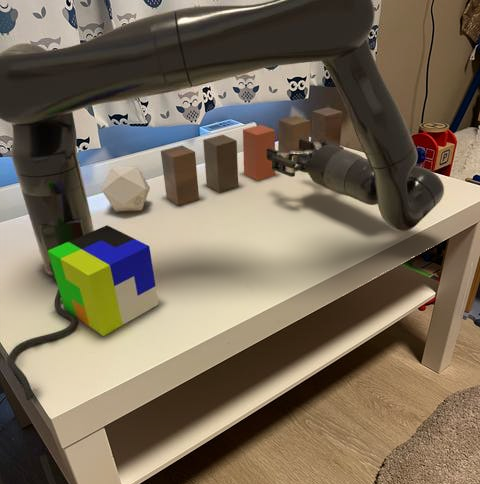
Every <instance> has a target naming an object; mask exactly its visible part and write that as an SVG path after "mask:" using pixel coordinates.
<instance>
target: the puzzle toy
mask: <svg viewBox="0 0 480 484" xmlns="http://www.w3.org/2000/svg"><path fill="white" fill-rule="evenodd" d="M48 254H49V258H50V261H51V264H52V268H53V271H54V275H55V278H56V280H55V281H56V285H57V289H58V288H59V292H60V295H61V299H60V300H61V302H62V306H63V308H64V309H63V310H64V311H66V312H68V313H70V314H72V315H73V316H75V317H76V319H77V320H79V321H81V322H82V323H84V324H85V325H86V326H88V327H89V328H91V329H92V330H94V331H95V332H97V333H98V334H99V335H101V336H102V337H105V336H107V335H108V334H110V333H112V332H113V331H115V330H117V329H118V328H121V327H123V326H124V325H126V324H127V323H129V322H131V321H132V320H134V319H136V318H138V317H140V316H141V315H143V314H145V313H147V312H148V311H150V310H152V309H153V308H155V307H157V306H159V298H158V293H157V286H156V279H155V274H154V268H153V267H154V265H153V261H152V254H151V248H150V245H149V244H147V243H145V242H142V241H140V240H138V239H136V238H134V237H132V236H130V235H128V234H126V233H124V232H122V231H120V230H118V229H116V228H114V227H111V226H109V225H108V224H106V225H104V226H102V227H99V228H97V229H94V231H92V232H90V233H88V234H85V235H83V236H81V237H78V238H76V239H74V240H71V241H69V242H67V243H64V244H62V245H60V246H58V247H55V248H53V249H51V250H48ZM55 278H54V279H55Z"/></svg>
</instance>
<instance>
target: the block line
mask: <svg viewBox="0 0 480 484" xmlns="http://www.w3.org/2000/svg"><path fill="white" fill-rule="evenodd" d="M343 115H344V114H343V111H341V110H337V109H335V108H332V107H324V108H320V109H316V110H312V111H311V120H310V119H306V118H303V117H301V116H298V115H293V116H292V115H291V116H289V117H284V118H282V119H278V127H277V128H278V131H277V132H278V133H277V134H278V137H277V139H278V140H277V142H278V143H277V151H279V152H281V153H290V151H302V150H300V149H299V140H300V139H305V140H308V141H311V142H319V143H320V144H321V143H322V141H329V142H331V143H333V144H336V145H338V146H341V137H342V126H343ZM202 141H203V154H204V155H203V156H204V167H205V182H206V187H208V188H209V189H211V190H213V191H216V192H217V193H219V194H220V193H223V192H227V191H230V190H233V189H236V188H239V168H238V165H239V164H238V163H239V162H238V141H237V140H236V139H234V138H232V137H230V136H227V135H225V134H220V135H217V136H213V137H209V138H205V139H203V140H202ZM302 152H304V151H302ZM160 156H161V157H160V158H161V164H162V172H163V180H164V181H163V182H164V188H165V195H166V199H167V200H169V201H170V202H172V203H174V204H175V205H177V206H178V207H179V206H183V205H185V204H189V203H192V202H195V201H198V200H200V196H199V195H200V193H199V182H198V181H199V180H198V169H197V158H196V151H195V150H193V149H191V148H189V147H186V146H185V145H178V146H175V147H169V148H166V149H163V150H160ZM283 158H284V159H287V160H288V158H287V157H283ZM293 162H295V164H297V156H293Z"/></svg>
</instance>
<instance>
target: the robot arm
mask: <svg viewBox="0 0 480 484" xmlns="http://www.w3.org/2000/svg"><path fill="white" fill-rule="evenodd" d="M374 22H375V5H374V3H373V0H269V1H265V2H261V3H256V4H247V5H245V4H244V5H202V6H201V5H200V6H191V7H185V8H184V7H182V8H178V9H174V10H170V11H165V12H162V13H157V14H153V15H150V16H146V17H143V18H139V19H137V20H134V21H131V22H128V23H125V24H123V25H120V26H118V27H116V28H113V29H111V30H109V31H106V32H104V33H102V34H99V35H98V36H95V37H93V38H91V39H89V40H86V41H83V42H81V43H79V44H74V45H72V46H67V47H62V48H55V49H49V50H47V49H46V48H44V47H42V46H39V45H37V44H35V43H27V42H26V43H25V42H24V43H18V44H15V45H12V46H10V47H8V48H6V49H5V50H3V51H1V52H0V120H1V121H3V122H5V123H8V124H10V125H11V127H12V144H11V151H10V154H11V160H12V163H13V164H12V165H13V168H14V170H15V173H16V177H17V180H18V183H19V186H20V189H21V193H22V197H23V200H24V203H25V208H26V211H27V213H28V216H29V220H30V223H31V226H32V231H33V233H34V236H35V241H36V244H37V247H38V250H39V253H40V256H41V259H42V263H43V269H44V271H45V272H46V274H47V275H49V276H52V278H54V280H55V281H56V278H55V275H54V271H53V268H52V264H51V261H50V258H49V254H48V250H51V249H53V248H55V247H58V246H60V245H62V244H64V243H67V242H69V241H71V240H74V239H76V238H78V237H81V236H83V235H85V234H88V233H90V232H92V231H95V228H94V223H93V219H92V214H91V211H90V206H89V201H88V196H87V193H86V188H85V184H84V179H83V173H82V169H81V165H80V162H79V156H78V150H77V142H78V140H77V139H78V137H77V129H76V123H75V118H74V114H73V112H76V111H80V110H82V109H86V108H89V107H92V106H97V105H100V104H107V103H112V102H113V103H115V102H121V101H122V102H123V101H129V100H134V99H140V98H145V97H146V98H147V97H151V96H156V95H162V94H169V93H173V92H178V91H182V90H185V89H191V88H196V87H199V86H203V85H207V84H210V83H214V82H218V81H223V80H226V79H230V78H235V77H239V76H241V75H244V74H248V73H251V72H254V71H258V70H262V69H266V68H267V69H268V68H271V67H277V66H285V65H295V64H305V63H314V62H322V64H323V66H324V67H325V69H326V71H327V72H328V74H329V76H330V77H331V80H332V81H333V83H334V85H335V87H336V89H337V92H338V94H339V96H340V98H341V100H342V102H343V105H344V107H345V109H346V112H347V114H348V117H349V119H350V122H351V125H352V128H353V129H354V133H355V135H356V137H357V140H358V141H359V144H360V146H361V148H362V151H363V153H364V155H365V157H366V158H365V157H363V156H362V155H360V154H358V153H355V152H353V151H351V150H350V151H349V150H347V149H344V147H343V146H342V145H340V146H338V145H336V144H333V143H331V142H329V141H322V143H321V144H320V143H319V142H311V140H309V141H308V140H305V139H300V140H299V149H300V150H302V151H304V152H302V151H290V153H281V152H279V151H278V149H276V148H275V149H272V148H268V149H267V151H266V158H267V159H268V160H270V161H272V170H275V172H277V173H280V174H283V175H285V176H288V177H291V178H293V177H295V176H296V172H302V173H305V174H307V175H308V176H309V177H310V179H311V181H312V182H313V183H314V184H317V185H319V186H321V187H324V188H325V189H328V190H329V191H333V192H335V193H337V194H339V195H343V196H346V197H350V198H352V199H354V200H357V201H358V202H361V203H363V204H365V205H368V206H375V205H376V206H377V207H378V210H379V213H380V215H381V217H382V219H383V220H384V222H385V223H386V224H387V225H388V226H389V227H390V228H392V229H394V230H396V231H399V232H408V231H410V230H412V229H414V228H416V226H418V224H420V223H421V222H422V220H424V219H425V218H426V216H427V215H428V214H430V212H431V211H433V209H434V208H435V207H437V205H438V204H440V202H442V199H443V197H444V195H445V186H444V182H443V181H442V179H441V178H440V177H439V175H438V174H436V173H435V172H433V171H432V170H430V169H428V168H425V167H421V166H417V162H418V158H419V156H418V150H417V148H416V145H415V142H414V140H413V138H412V135H411V132H410V130H409V128H408V125H407V123H406V120H405V118H404V116H403V114H402V111H401V110H400V107H399V106H398V104H397V102H396V100H395V98H394V96H393V94H392V92H391V91H390V89H389V87H388V85H387V83H386V82H385V80H384V77H383V75H382V73H381V72H380V70H379V67H378V65H377V63H376V60H375V58H374V55H373V52H372V50H371V46H370V44H369V41H368V37H369V36H370V33H371V32H372V29H373V26H374ZM293 156H297V164H295V162H293ZM283 157H287V158H288V160H287V159H284V158H283ZM61 300H62V299H61V295H60V292H59V288H58V287H57V291H56V294H55V297H54V308H55V311H56V312H57V313H58V314H59V315H61V316H62V317H65V318H66V319H68V320H70V321H71V322H70V324H68V326H66V327H65V328H63V329H61V330H58V331H54V332H51V333H47V334H44V335H39V336H36V337H32V338H30V339H27V340H24V341H22V342H20V343H19V344H17V345H16V346H15V347H14V348H13V349H12V350H11V351H10V353H9V354H8V356H7V360H6V361H7V366H8V367H9V369H10V370H11V371H12V372H13V373H14V374H15V375H16V377H17V378H18V379H19V381H20V383H21V385H22V387H23V391H24V395H25V399H26V400H27V401H31V400H32V399H33V397H34V396H33V391H32V388H31V383H30V382H29V380H28V378H27V376H26V374H25V373H24V372H23V371H22V369H20V367H18V366H17V365H16V363H15V358H16V356H17V354H19V352H20V351H22V350H23V349H25V348H27V347H30V346H32V345H35V344H38V343H42V342H46V341H50V340H53V339H57V338H60V337H63V336H65V335H67V334H69V333H70V332H72V331H73V330H74V329H75V328H76V326H77V324H78V318H77V317H75V316H74V315H72V314H71V313H69V312H68V311H67V310H65V309H63V308H62V307H61ZM39 458H40V462H41V465H42V468H43V471H44V473H45V476H46V479H47V481H48V484H57V483H56V480H55V478H54V475H53V472H52V469H51V467H50V464H49V460H48V457H47V454H42V455H39Z"/></svg>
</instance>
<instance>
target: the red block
mask: <svg viewBox="0 0 480 484" xmlns="http://www.w3.org/2000/svg"><path fill="white" fill-rule="evenodd" d="M268 148H272V149H275V150H276V129H274V128H270V127H268V126H265V125H263V124H259V125H255V126H251V127H248V128H247V127H246V128H243V129H242V149H243V150H242V151H243V153H242V154H243V175H244V176H247V177H248V178H251V179H253V180H255V181H260V180H261V181H262V180H265V179H268V178H270V177H274V176H275V175H276V171H275V170H272V161H270V160H268V159H267V158H266V151H267V149H268Z"/></svg>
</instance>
